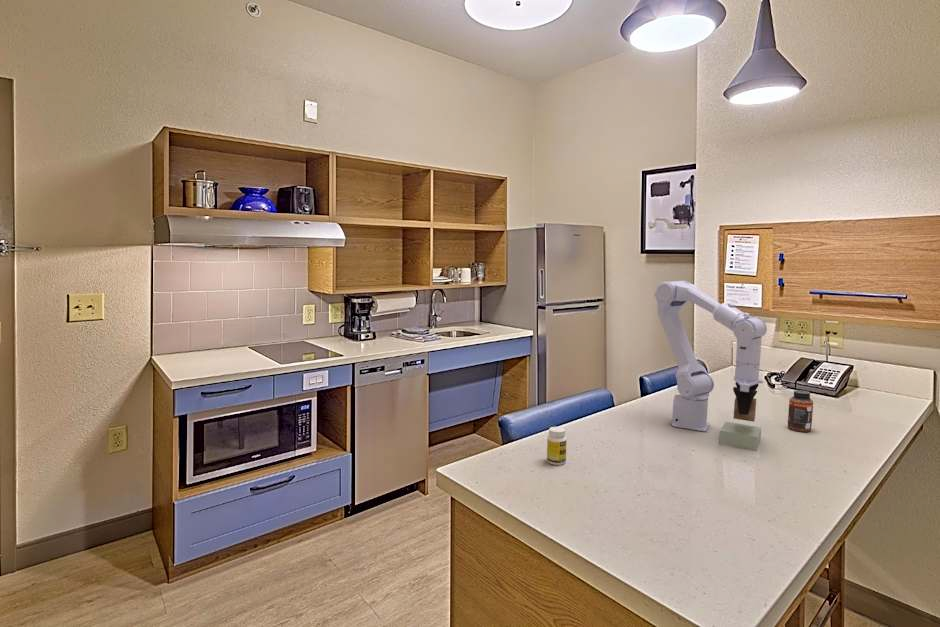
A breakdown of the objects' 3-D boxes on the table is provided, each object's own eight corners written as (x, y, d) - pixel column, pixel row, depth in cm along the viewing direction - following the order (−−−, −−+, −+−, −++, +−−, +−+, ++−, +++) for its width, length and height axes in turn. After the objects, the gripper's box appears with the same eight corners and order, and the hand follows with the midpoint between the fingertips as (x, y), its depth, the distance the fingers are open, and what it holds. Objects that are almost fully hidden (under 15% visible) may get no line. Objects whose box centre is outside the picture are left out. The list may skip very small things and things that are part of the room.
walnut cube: (733, 418, 144) (734, 400, 143) (734, 413, 148) (736, 396, 147) (754, 421, 141) (755, 403, 140) (755, 416, 145) (756, 398, 145)
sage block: (719, 444, 144) (719, 430, 144) (724, 434, 152) (725, 421, 151) (756, 451, 139) (757, 437, 139) (760, 441, 147) (761, 427, 146)
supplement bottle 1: (561, 467, 129) (562, 433, 128) (543, 462, 132) (544, 430, 131) (568, 460, 133) (569, 428, 132) (551, 456, 136) (552, 424, 135)
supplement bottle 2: (814, 433, 152) (818, 394, 150) (791, 431, 153) (794, 393, 151) (806, 426, 157) (809, 389, 156) (784, 425, 159) (786, 388, 157)
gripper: (763, 369, 134) (759, 421, 136) (765, 359, 147) (762, 406, 148) (732, 366, 138) (729, 416, 140) (737, 356, 150) (734, 402, 152)
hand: (744, 411), depth 144 cm, fingers closed on walnut cube, 5 cm apart
